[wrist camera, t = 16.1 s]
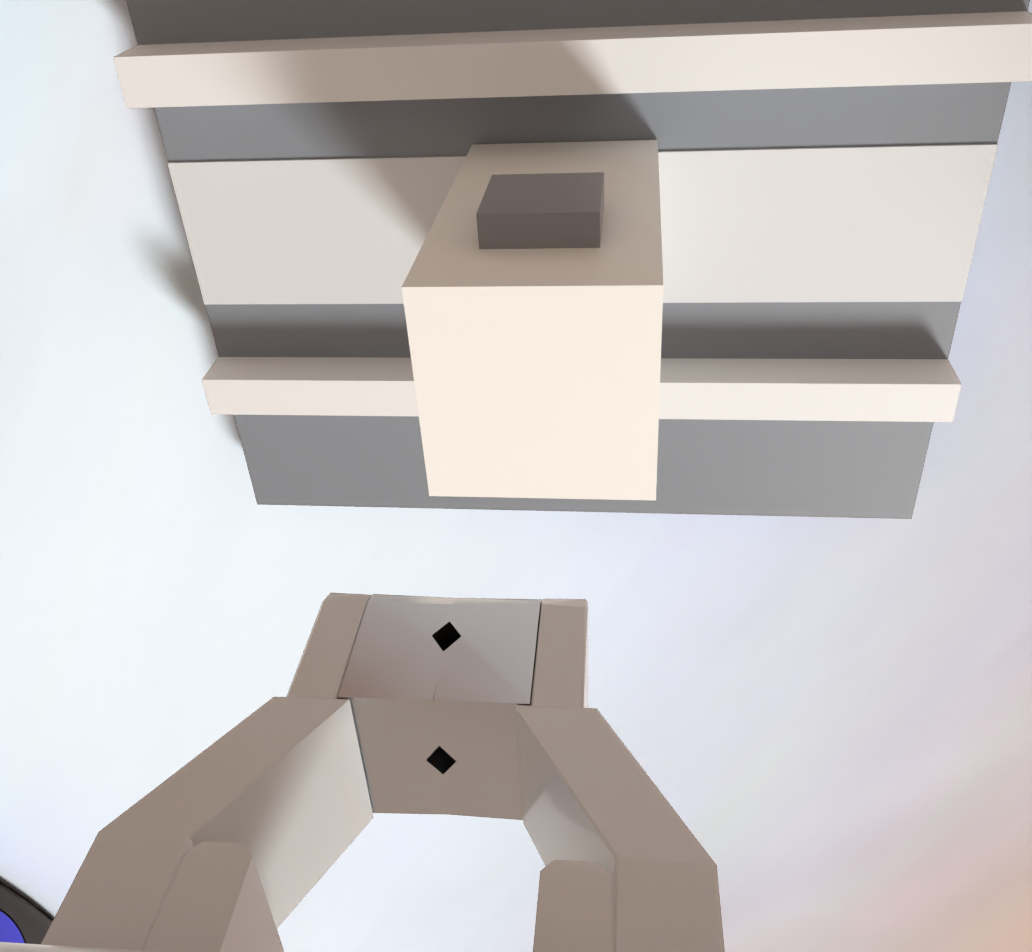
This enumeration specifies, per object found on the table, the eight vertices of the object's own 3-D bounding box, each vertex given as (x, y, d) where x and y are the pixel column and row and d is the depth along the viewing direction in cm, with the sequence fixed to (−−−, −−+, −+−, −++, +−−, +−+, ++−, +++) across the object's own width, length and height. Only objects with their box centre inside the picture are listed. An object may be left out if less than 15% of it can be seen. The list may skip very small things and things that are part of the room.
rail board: (1052, -231, 17) (1110, -235, 15) (899, 485, 27) (922, 547, 24) (118, -169, 20) (52, -164, 17) (273, 474, 29) (243, 530, 27)
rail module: (658, 110, 20) (664, 247, 14) (652, 312, 23) (656, 500, 17) (470, 115, 21) (396, 250, 14) (485, 312, 23) (429, 496, 17)
